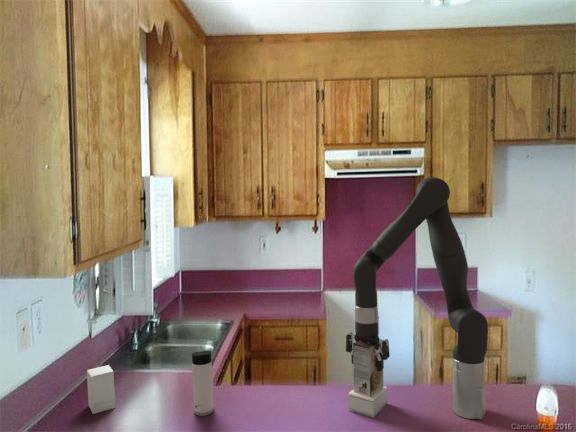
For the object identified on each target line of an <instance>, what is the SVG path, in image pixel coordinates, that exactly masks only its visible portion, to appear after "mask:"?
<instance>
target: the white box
mask: <svg viewBox="0 0 576 432" xmlns="http://www.w3.org/2000/svg"><path fill="white" fill-rule="evenodd" d="M347 397H348V398H347V399H348V411H349V412H350V413H351V412H352V413H355V414H359V415H361V416H365V417H368V418H371V419H374V418H375V417H376V416H377V415H378V414H379V413H380V411H382V410H383V409H384V407H386V406H387V404H388V388H387V389H386V390H385V391H384V392H383V393H382V394H381V395H380V396H378V397H377V398H376V399H375V400H374V401H369V400H366V399H362V398H358V397H355V396H351V395H348V396H347Z"/></svg>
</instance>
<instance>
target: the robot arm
mask: <svg viewBox="0 0 576 432" xmlns="http://www.w3.org/2000/svg"><path fill="white" fill-rule="evenodd" d="M415 190H416V192H415V194H416V195H415V196H414V198H413V199H412V200H411V202H410V204H409V205H408V206H407V208H406V209H404V211H403V212H402V213H401V214H400V215H399V216H397V218H396V219H394V220H393V222H391V223H390V224H389V225H388V226H387V227H386V228H385V229H384V230H383V231H382V232H381V234H380V235H379V236H378V237H377V238H376V240H374V241H373V243H372V245H371V246H370V247H369V248H368V249H367V250H366V251H365V252H363V254H362V255H361V256H360V257H359V258H358V259H357V261H356V263H355V264H354V266H353V281H354V288H355V290H354V291H355V292H354V294H355V295H354V297H355V300H354V301H355V302H354V303H355V304H354V305H355V306H354V333H355V334H353V332H349V333H348V334H346V339H345V352H346V353H348V354H349V353H350V355H351V364H352V365H353V343H354V342H353V341H355V342H356V341H359V342H361V343H363V342H366V344H369V345H371V344H374V345H375V347H376V346H377V345H378V344H379V343H380V344H381V347H382V350H383V354H382V352H381V349H380V348H379V347H378V350H377V351H376V350H375V349H374V355H375V356H376V357H377V359H378V361H377V371H378V372H381V371H382V370H383V371H384V367H385V366H384V365H385V363H384V362H385V361H387V360H388V359H389V358H390V356H391V355H390V343H389V339H387V338H385V339H382V340H380V339H381V338H380V337H379V332H380V331H379V329H380V328H379V327H380V325H379V323H380V322H379V319H380V316H379V308H378V291H377V272H378V271H379V269H380V268H381V267H382V266H383V265H384V263H386V261H387V260H389V259H390V258H391V257H393V256H394V254H395V253H397V251H398V250H399V249H400V248H401V246H402V245H403V244H404V243H405V242H406V241H407V240H408V238H409V237H410V236H411V235H412V234H413V233H414V231H416V229H417V228H418V227H420V226H421V224H422V223H423V222H424V221H426V224H427V228H428V235H429V242H430V248H431V253H432V257H433V260H434V263H435V267H436V270H437V274H438V277H439V281H440V284H441V287H442V291H443V293H444V299H445V302H446V303H445V306H446V309H447V310H446V312H447V317H448V321H449V325H450V327H451V328H452V330H454V331H455V332H456V333H457V344H456V345H455V346H454V347H453V348H452V411H453V413H454V414H456V415H457V416H459V417H461V418H464V419H470V420H480V421H481V420H483V419H484V417H485V416H486V415H485V414H486V412H487V382H486V381H485V356H486V354H487V351H488V341H489V326H488V325H489V324H488V320H487V318H486V317H485V315H484V314H483V313H481V312H480V311H479V310H477V309H475V307H474V306H473V304H472V301H471V298H470V295H469V292H468V282H467V281H468V274H469V271H468V270H469V266H468V261H467V260H468V259H467V256H466V253H465V252H466V251H465V249H464V245H463V242H462V241H461V238H460V235H459V233H458V231H457V228H456V226H455V225H454V222H453V220H452V216H451V213H450V209H449V203H448V200H449V199H450V196H451V190H450V186H449V184H448V183H447V182H446V181H445V180H444V179H442V178H440V177H435V176H427V177H425V178H423V179H422V180H421V181H419V183H418V185H417V186H416V189H415Z"/></svg>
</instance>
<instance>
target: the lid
mask: <svg viewBox="0 0 576 432" xmlns="http://www.w3.org/2000/svg"><path fill="white" fill-rule="evenodd" d="M386 389H387V390H388V387H387V386H385V385H383V388H381V389H380V390H379V391H378V392H376V393H375V394H374V395H372V396H371V397H368V396H365V395H362V394H359V393H356V392H354V388H353V389H351V390H350V391H349V392H348V396H349V395H351V396H355V397H358V398H362V399H366V400H369V401H374V400H375V399H376V398H377V397H378V396H380V395H381V394H382V393H383V392H384V391H385V390H386Z"/></svg>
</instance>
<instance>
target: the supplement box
mask: <svg viewBox="0 0 576 432" xmlns="http://www.w3.org/2000/svg"><path fill="white" fill-rule="evenodd" d="M86 379H87V380H86V382H87V384H86V385H87V397H88V399H87V400H88V407H89V409H90V411H91V413H92V415H94V414H99V413H102V412H105V411H108V410H112V409H115V408H116V394H115V374H114V370H113V369H112V367H111V366H110V364H107V365H103V366H98V367H94V368H91V369H86Z"/></svg>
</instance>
